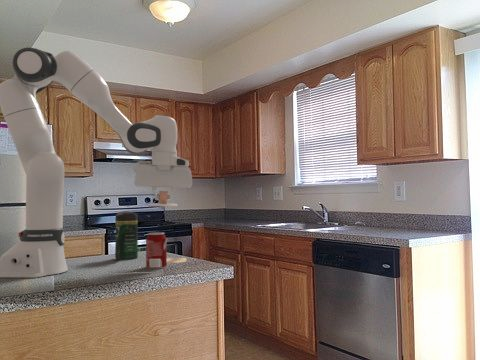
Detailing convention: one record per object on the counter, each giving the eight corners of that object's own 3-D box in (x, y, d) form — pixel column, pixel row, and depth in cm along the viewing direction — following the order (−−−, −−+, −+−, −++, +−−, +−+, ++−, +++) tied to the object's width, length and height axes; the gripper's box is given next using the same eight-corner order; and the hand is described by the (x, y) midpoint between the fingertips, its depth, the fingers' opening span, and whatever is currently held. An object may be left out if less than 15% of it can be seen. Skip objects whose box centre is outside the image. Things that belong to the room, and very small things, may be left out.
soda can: (162, 270, 139) (161, 234, 140) (142, 270, 141) (142, 234, 141) (169, 267, 146) (169, 232, 146) (151, 266, 147) (151, 232, 148)
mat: (158, 264, 151) (158, 263, 151) (159, 260, 161) (159, 258, 161) (186, 263, 153) (186, 262, 153) (186, 259, 163) (186, 257, 163)
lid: (147, 206, 145) (148, 190, 146) (149, 205, 155) (150, 191, 155) (177, 206, 147) (177, 191, 147) (177, 206, 157) (177, 191, 157)
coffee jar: (140, 260, 162) (140, 211, 163) (119, 261, 158) (119, 212, 159) (133, 256, 171) (133, 210, 171) (113, 258, 167) (113, 211, 167)
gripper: (133, 159, 147) (132, 199, 146) (193, 161, 150) (192, 200, 149) (135, 161, 153) (134, 199, 153) (192, 162, 156) (191, 200, 155)
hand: (163, 200), depth 151 cm, fingers closed on lid, 3 cm apart
